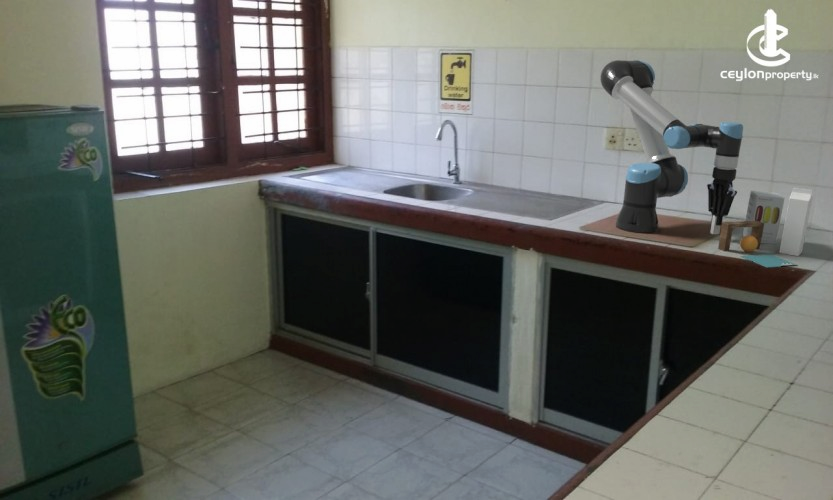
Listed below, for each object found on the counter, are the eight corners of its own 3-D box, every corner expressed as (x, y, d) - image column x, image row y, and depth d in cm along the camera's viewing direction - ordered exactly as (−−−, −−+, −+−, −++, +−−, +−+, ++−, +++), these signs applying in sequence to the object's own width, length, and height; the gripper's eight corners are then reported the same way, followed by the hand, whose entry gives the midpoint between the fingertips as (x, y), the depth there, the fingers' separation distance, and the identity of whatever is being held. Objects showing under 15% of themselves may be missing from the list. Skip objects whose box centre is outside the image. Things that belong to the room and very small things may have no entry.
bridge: (724, 251, 250) (728, 224, 247) (718, 248, 253) (722, 222, 250) (759, 249, 254) (764, 222, 251) (753, 246, 257) (758, 220, 254)
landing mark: (766, 267, 233) (767, 267, 233) (740, 256, 244) (740, 255, 244) (797, 265, 237) (798, 265, 237) (770, 254, 248) (770, 254, 248)
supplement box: (748, 242, 263) (756, 195, 258) (741, 235, 271) (749, 190, 267) (776, 244, 261) (785, 197, 256) (769, 237, 270) (777, 192, 265)
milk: (782, 249, 255) (794, 185, 249) (802, 252, 252) (814, 188, 246) (778, 252, 251) (790, 188, 245) (798, 256, 247) (811, 191, 241)
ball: (741, 255, 249) (750, 244, 245) (733, 243, 253) (742, 232, 249) (755, 255, 251) (764, 244, 247) (747, 242, 254) (755, 231, 250)
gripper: (747, 171, 253) (736, 237, 260) (721, 164, 265) (711, 228, 272) (728, 171, 251) (717, 238, 258) (703, 164, 263) (694, 229, 270)
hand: (714, 233), depth 265 cm, fingers closed
